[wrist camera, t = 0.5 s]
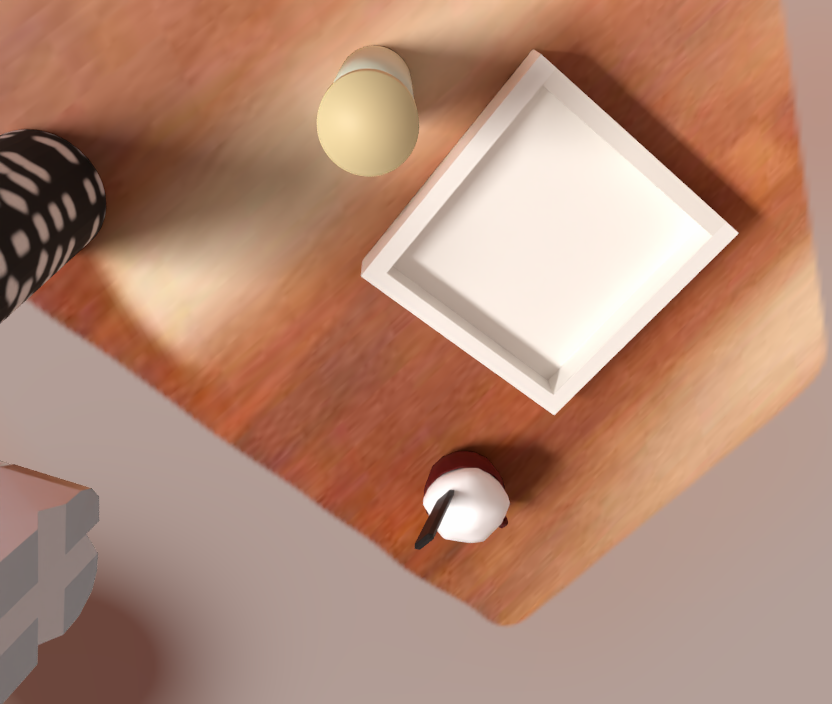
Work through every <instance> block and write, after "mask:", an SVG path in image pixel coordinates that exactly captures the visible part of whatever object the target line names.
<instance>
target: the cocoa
mask: <svg viewBox="0 0 832 704" xmlns="http://www.w3.org/2000/svg"><path fill="white" fill-rule="evenodd" d="M423 505H424V507H425V508H426V511H427V514H428V515H429V517H428V519H427V521H426V523H425V525H424V527H423V529H422V531H421V533H420V535H419V537H418V539H417V541H416V543H415V549H421V548H423V547H424V546H425V545H426V544H428V543H429V542H430V541H431V540H433V539H434V537H435V534H436V532H437V531H438V532H439V534H440V535H441V536H442V537H443V538H444V539H449V540H454V541H460V542H468V543H475V542H483V541H485V540H486V539H487V538H488V537H489V536H490V535H491V534H492V533H493V532H494V531H495V530H496V529H497V528H498V527H500V528H503V527H505V526H506V525H507V524H508V520H507V518H506V516H505V515H506V512H507V510H508V507H509V505H510V502H509V498H508V495H507V494H506V492H505V487H504V483H503V480H502V477H501V476H500V474H499V473H498V471H497V470H496V469H495V467H494V466H493V465H492V464H491V462H490V461H489V460H488V459H487V458H486V457H484V456H482V455H480V454H477V453H475V452H467V451H457V452H454V453H451V454H448V455H446V456H443V457H442V458H441V459H440V460H439V461H438V462H437V463H435V464H434V465H433V467H432V469H431V471H430V474H429V477H428V480H427V482H426V485H425V489H424V499H423Z"/></svg>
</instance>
